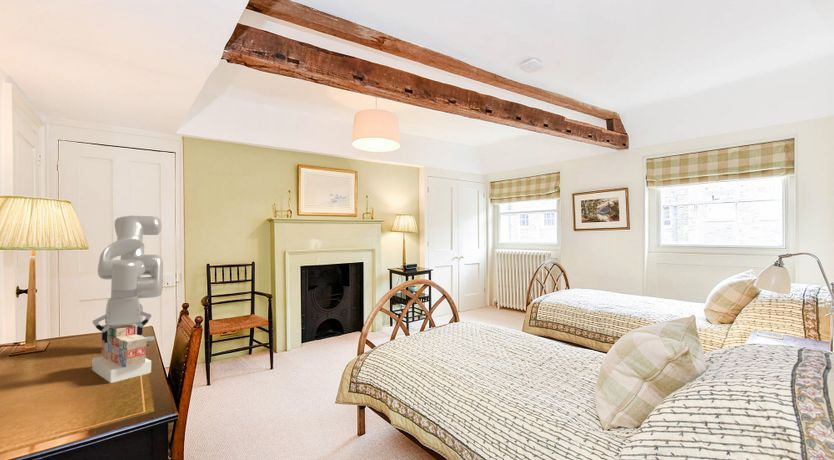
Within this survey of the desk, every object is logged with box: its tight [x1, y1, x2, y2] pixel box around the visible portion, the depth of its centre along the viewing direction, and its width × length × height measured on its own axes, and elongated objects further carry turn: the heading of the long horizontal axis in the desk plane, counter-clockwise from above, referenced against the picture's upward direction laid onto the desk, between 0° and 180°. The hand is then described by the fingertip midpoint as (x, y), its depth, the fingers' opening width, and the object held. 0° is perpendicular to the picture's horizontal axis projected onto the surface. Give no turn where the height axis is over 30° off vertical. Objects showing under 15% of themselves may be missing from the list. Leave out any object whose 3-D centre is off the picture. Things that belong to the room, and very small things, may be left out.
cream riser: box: [91, 356, 152, 384], centre depth 137 cm, size 12×20×5 cm, turn 56°
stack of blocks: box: [100, 324, 148, 367], centre depth 137 cm, size 21×6×12 cm, turn 59°
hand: (122, 339), depth 137 cm, fingers open, 9 cm apart
